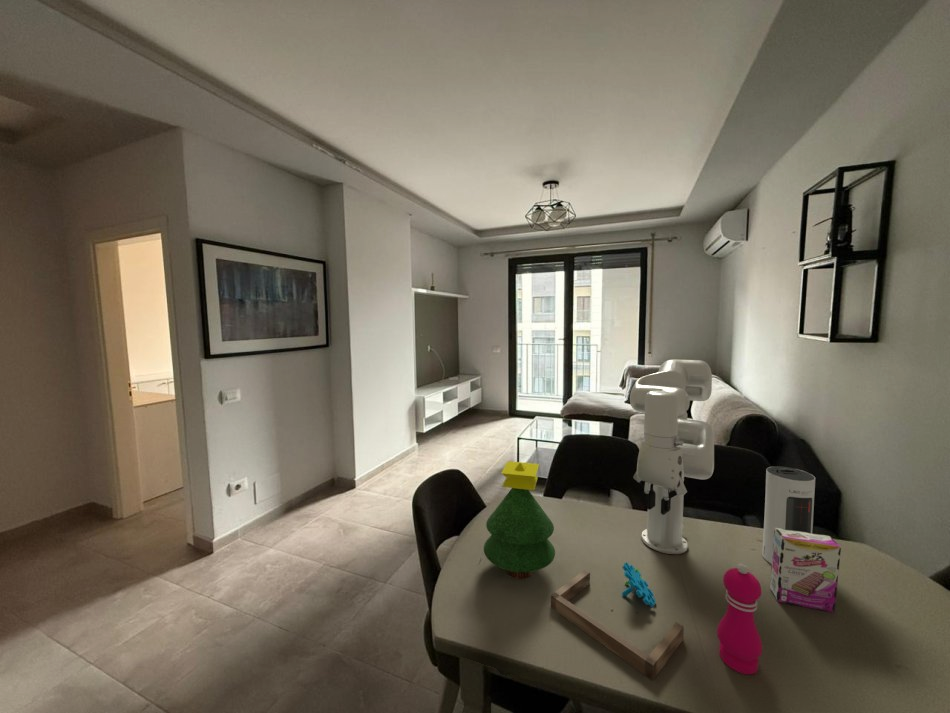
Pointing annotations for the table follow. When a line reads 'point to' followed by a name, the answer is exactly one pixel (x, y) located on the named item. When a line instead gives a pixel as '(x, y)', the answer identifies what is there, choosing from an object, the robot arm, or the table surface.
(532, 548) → the decorative tree
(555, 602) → the frame
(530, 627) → the table surface
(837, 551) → the candy bar box
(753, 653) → the pepper mill
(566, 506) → the table surface
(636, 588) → the gear
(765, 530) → the speaker
